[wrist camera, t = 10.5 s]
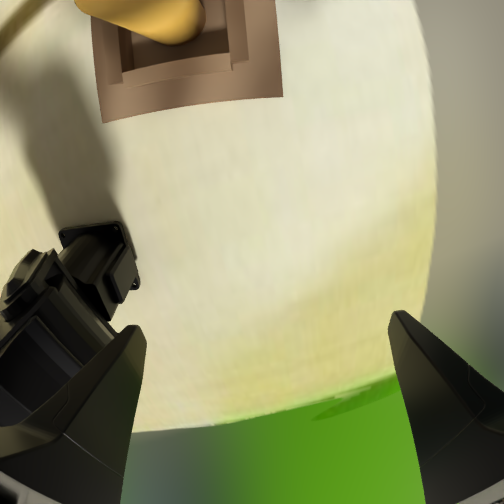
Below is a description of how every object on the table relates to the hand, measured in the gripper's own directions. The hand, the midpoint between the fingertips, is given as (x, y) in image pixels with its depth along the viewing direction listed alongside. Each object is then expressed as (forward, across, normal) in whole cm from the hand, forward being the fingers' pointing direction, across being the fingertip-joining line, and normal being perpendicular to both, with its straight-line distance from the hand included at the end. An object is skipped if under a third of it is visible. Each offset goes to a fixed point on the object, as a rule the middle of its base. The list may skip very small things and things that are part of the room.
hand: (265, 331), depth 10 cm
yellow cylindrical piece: (+12, +4, -12) cm, 18 cm away
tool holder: (+13, +4, -12) cm, 19 cm away
